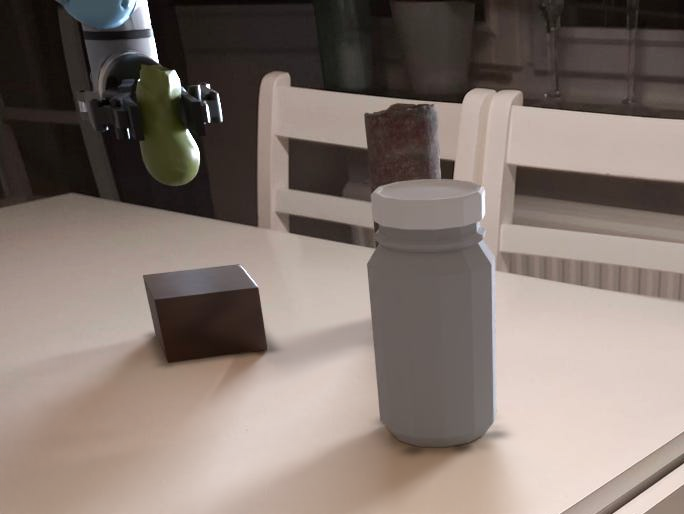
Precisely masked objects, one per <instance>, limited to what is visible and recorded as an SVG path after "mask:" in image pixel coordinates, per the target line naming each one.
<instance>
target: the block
mask: <svg viewBox="0 0 684 514" xmlns="http://www.w3.org/2000/svg"><path fill="white" fill-rule="evenodd" d="M142 278H143V283H144V289H145V292H146V297H147V298H146V299H147V302H148V306H149V311H150V316H151V320H152V325H153V329H154V330H153V331H154V334H155V337H156V340H157V341H158V344H159V346H160V349H161V351H162V353H163V355H164V358H165V360H166V363H167V364H173V363H181V362H187V361H188V362H189V361H195V360H202V359H208V358H209V359H210V358H216V357H223V356H229V355H230V356H232V355H237V354H238V355H239V354H244V353H252V352H259V351H266V350H268V341H267V334H266V329H265V321H264V315H263V308H262V301H261V293H260V288H259V286H258V285H257V284H256V282H255V281H254V280H253V279H252V278H251V276H250V275H249V274H248V273H247V271H246V270H245V269H244V267H242V265H241V264H240V263H238V264H237V263H235V264H227V265H220V266H210V267H202V268H192V269H185V270H177V271H176V270H175V271H165V272H157V273H150V274H143V275H142Z"/></svg>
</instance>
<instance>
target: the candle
mask: <svg viewBox="0 0 684 514" xmlns="http://www.w3.org/2000/svg"><path fill="white" fill-rule="evenodd" d="M438 113H439V112H438V107H437V104H436V103H431V104H430V103H417V104H416V103H403V102H396V103H393V104H390V105H389V106H388V107H387V108H386V109H381V110H378V111H374V112H373V113H369V112H365V113H364V114H363V117H364V118H363V119H364V130H365V136H366V137H365V138H366V147H367V161H368V163H367V164H368V173H369V183H370V195H371V194H372V193H373V192H374V191H375V190H376V189H377V188H378V187H379V186H383V185H387V184H391V183H395V182H400V181H410V180H420V179H442V171H441V170H442V169H441V153H440V152H441V150H440V135H439V115H438ZM378 229H379V224H378V223H377V222H375V221H373V230H374V232H373V233H374V234H375V233H376V232H377V231H378ZM374 241H375V243H374V244H375V249H376V248H377V246H378V244H379V243H378V242H377V241H376V240H374Z"/></svg>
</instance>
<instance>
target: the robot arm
mask: <svg viewBox="0 0 684 514" xmlns="http://www.w3.org/2000/svg"><path fill="white" fill-rule="evenodd" d="M55 2H58V4H60V5H61V6H62V8H64V10H65V11H66V13H67V14H68V15H69V16H71V18H73V19H75V20H76V21H77V22H79V23H80V24H81V28H82V34H83V38H84V39H83V40H84V44H85V48H86V53H87V58H88V62H89V67H90V76H89V78H90V82H91V84H92V85H91V86H92V91H90V90H85V89H79V90H78V91H75V95H76V98H77V103H78V108H79V111H80V116H81V120H82V121H85V122H89V123H90V124H91V126H92V128H93V129H94V131H96V132H99V133H105V131H109V126H108V125H113V126H114V130H115V135H116V139H117V140H130V139H131V138H130V137H132V138H133V139H134V140H135V141H136V142H140V141H145V138H144V133H143V128H142V123H141V118H140V109H139V104H138V101H137V96H136V88H137V81H138V79H140V70H141V64H144V65H148V66H154V65H159V66H162V65H161V63H159V59H158V53H157V47H156V42H155V37H154V31H153V28H152V25H151V23H152V22H151V18H150V11H149V6H148V0H55ZM186 88H187V90H186V89H185V88H184V87H183V86H181V98H180V104H179V112H180V115H181V118H182V120H183V122H184V123H185V125H186V127H187V129H188V130H189V131H191V132H192V133H193V134H194V135H195V136H197V137H206V136H207V134H206V127H205V125H206V124H209V123H211V124H212V123H213V124H214V125H220V124H221V123H223V113H222V107H221V102H220V96H219V92H218V91H216V90H214V89H213V88H211V85H210V83H206V82H200V83H199V84H196V85H187V86H186ZM130 135H131V136H130Z"/></svg>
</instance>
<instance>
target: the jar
mask: <svg viewBox="0 0 684 514" xmlns="http://www.w3.org/2000/svg"><path fill="white" fill-rule="evenodd" d="M370 204H371V214H372V221H373V222H374V221H375V222H377V223H378V224H379V229H378V231H377V232H376V233H375V232H374V234H373V240H374V241H375V240H376V241H377V242H378V243H379V244H378V246H377V248H376V247H375V249H374V250H373V253H372V255H371V256H370V258H369V259H368V261H367V263H366V268H367V281H368V291H369V303H370V316H371V327H372V338H373V339H372V341H373V353H374V364H375V376H376V386H377V398H378V410H379V411H378V412H379V421H380V422H381V423H382V424H383V425H384V426H385V427H386V428H387V429H388V430H389V431H390V433H391V434H392V435H393V436H394V437H395V438H396V439H397V440H398V441H399V442H401V443H405V444H409V445H412V446H416V447H420V448H425V447H426V448H449V447H455V446H459V445H464V444H470V443H472V442H473V441H475V440H477V439H479V438H481V437H483V436H484V435H485V434H486V433H487V431H488V430H489V429H490V428H491V427H492V425H493V424H494V422H495V419H496V414H497V412H498V411H497V410H498V409H497V408H498V407H497V406H498V405H497V403H498V401H497V327H496V325H497V324H496V323H497V319H496V318H497V317H496V311H497V310H496V255H495V254H494V253H493V251H492V250H491V249H490V247H489V246H488V244H487V243H486V242H485V240H484V238H485V236H486V233H487V228H485V227H483V226H481V222H482V221H483V219H484V218H485V216H486V188H485V187H483V186H482V185H479V184H478V183H475V182H473V181H469V180H468V181H467V180H461V179H460V180H459V179H450V178H441V179H420V180H410V181H400V182H395V183H391V184H387V185H383V186H379V187H378V188H377V189H376V190H375V191H374V192H373V193H372V194H371V193H370Z"/></svg>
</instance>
